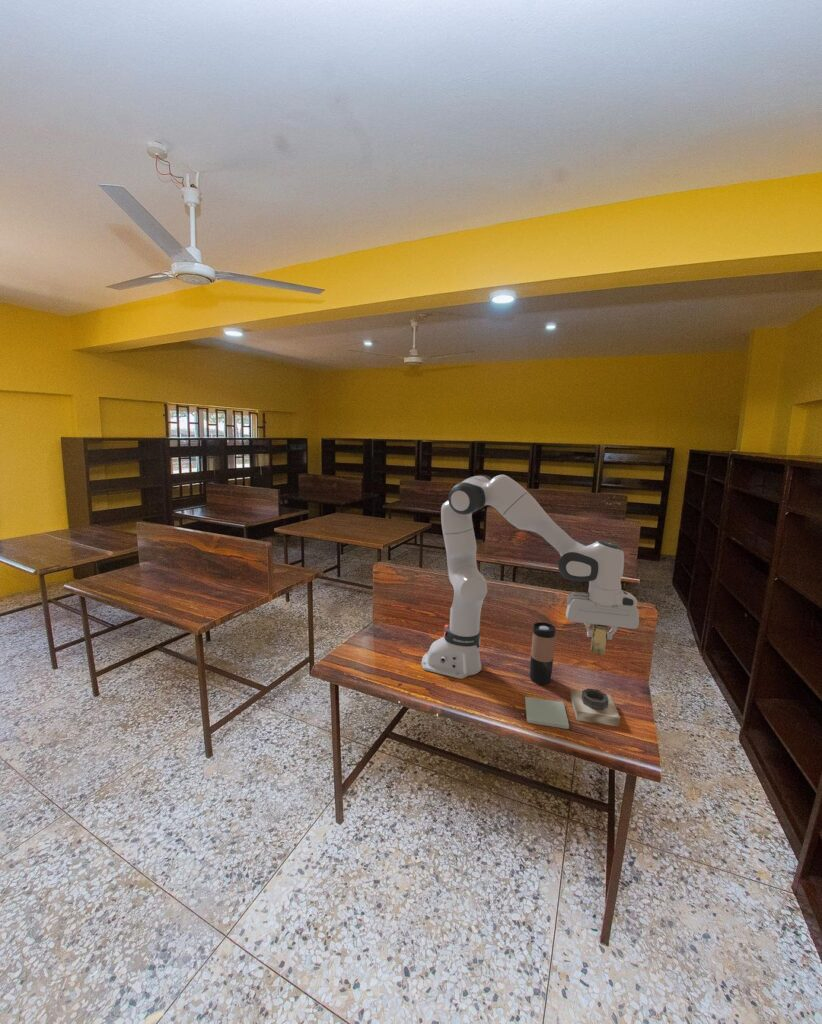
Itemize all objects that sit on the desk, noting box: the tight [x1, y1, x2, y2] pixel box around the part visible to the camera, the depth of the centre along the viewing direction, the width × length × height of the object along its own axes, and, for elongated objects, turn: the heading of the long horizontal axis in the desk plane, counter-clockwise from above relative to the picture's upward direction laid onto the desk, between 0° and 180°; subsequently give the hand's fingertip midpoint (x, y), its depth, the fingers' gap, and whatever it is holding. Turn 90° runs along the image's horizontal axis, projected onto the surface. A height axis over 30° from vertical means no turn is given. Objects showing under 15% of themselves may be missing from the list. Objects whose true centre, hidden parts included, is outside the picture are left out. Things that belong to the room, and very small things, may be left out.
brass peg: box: [590, 624, 609, 656], centre depth 128 cm, size 4×4×9 cm
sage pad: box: [524, 696, 570, 730], centre depth 130 cm, size 12×12×1 cm
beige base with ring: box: [570, 688, 621, 727], centre depth 132 cm, size 12×12×6 cm
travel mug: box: [529, 621, 556, 686], centre depth 148 cm, size 8×8×20 cm
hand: (599, 637), depth 128 cm, fingers closed on brass peg, 4 cm apart
